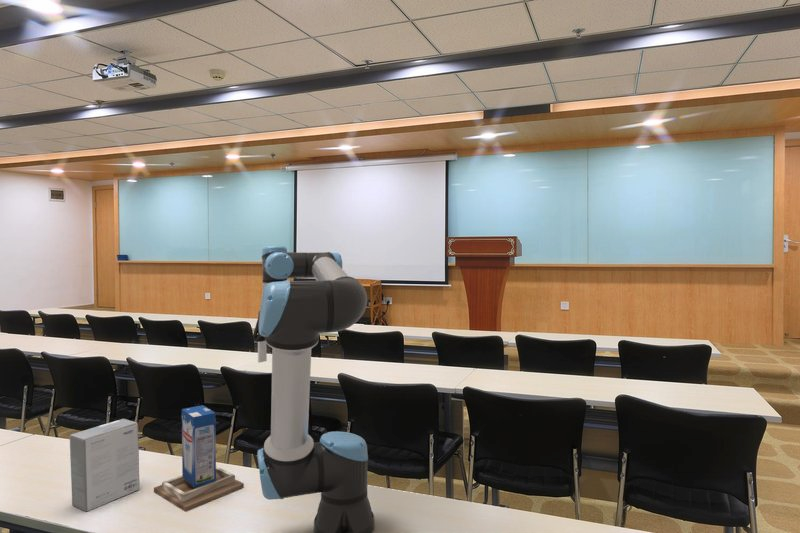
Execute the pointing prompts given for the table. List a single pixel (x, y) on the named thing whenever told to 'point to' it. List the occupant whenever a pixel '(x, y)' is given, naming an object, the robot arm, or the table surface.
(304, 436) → the robot arm
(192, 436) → the milk carton
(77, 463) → the hard drive box
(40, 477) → the table surface
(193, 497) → the walnut board
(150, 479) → the table surface
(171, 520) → the table surface
